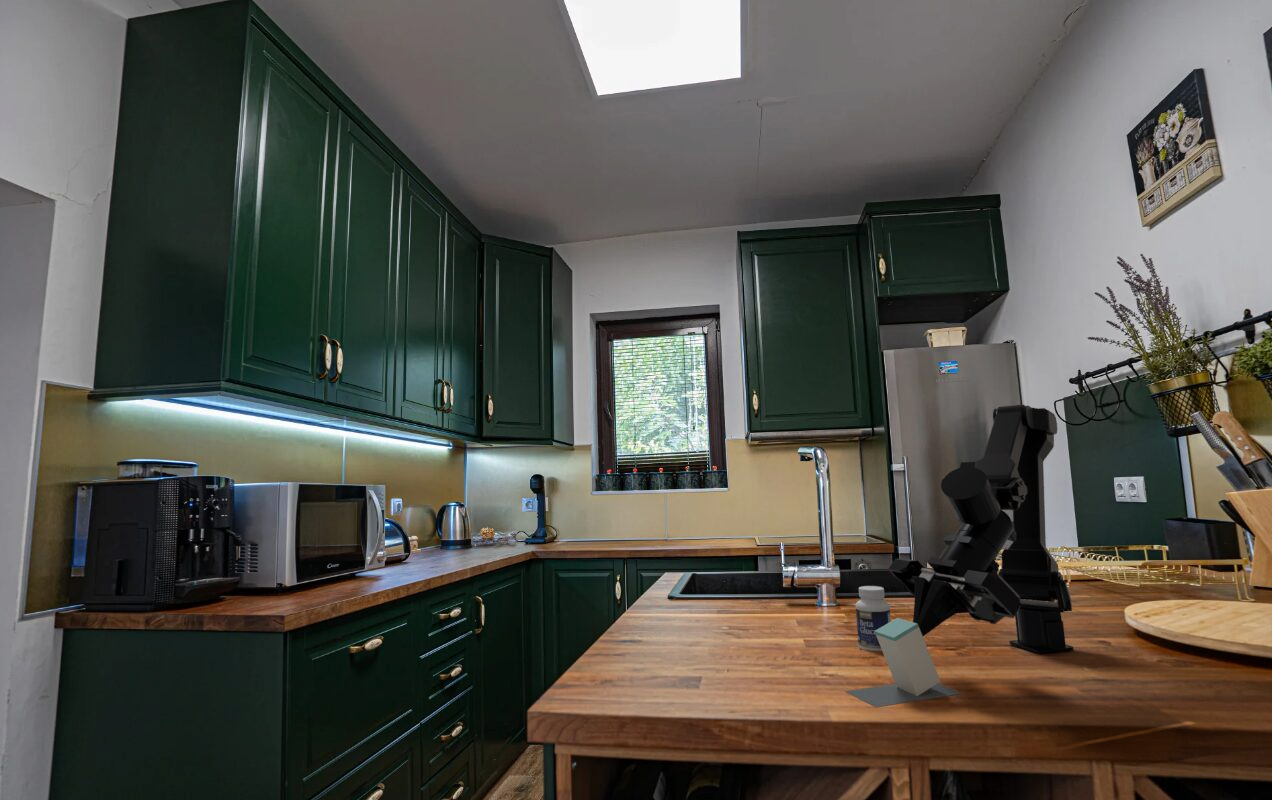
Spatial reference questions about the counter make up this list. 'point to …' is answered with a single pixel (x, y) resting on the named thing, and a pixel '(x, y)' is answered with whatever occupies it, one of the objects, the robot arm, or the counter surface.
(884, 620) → the pill bottle
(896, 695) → the slate mat
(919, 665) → the cream block
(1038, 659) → the counter surface
